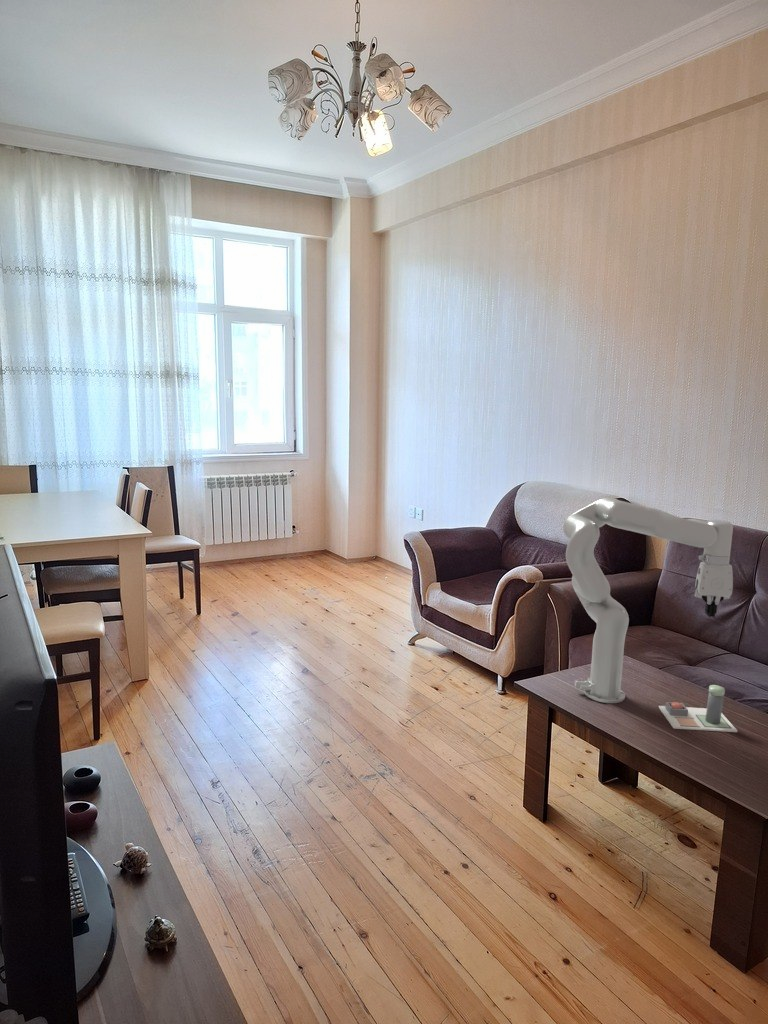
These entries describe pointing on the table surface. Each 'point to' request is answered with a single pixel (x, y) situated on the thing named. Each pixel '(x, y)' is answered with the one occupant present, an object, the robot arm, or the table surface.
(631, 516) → the robot arm
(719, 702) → the cylinder
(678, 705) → the button
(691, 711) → the picture board
